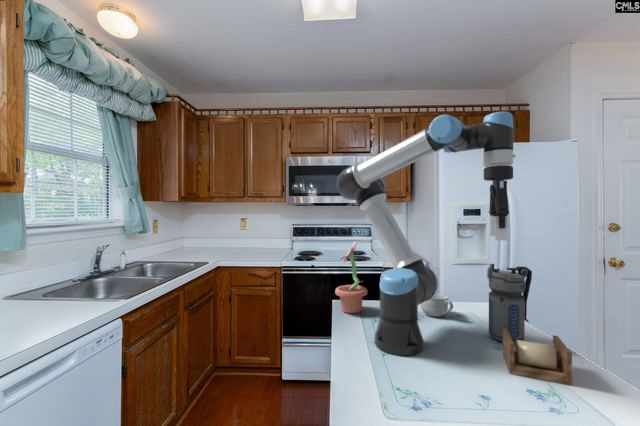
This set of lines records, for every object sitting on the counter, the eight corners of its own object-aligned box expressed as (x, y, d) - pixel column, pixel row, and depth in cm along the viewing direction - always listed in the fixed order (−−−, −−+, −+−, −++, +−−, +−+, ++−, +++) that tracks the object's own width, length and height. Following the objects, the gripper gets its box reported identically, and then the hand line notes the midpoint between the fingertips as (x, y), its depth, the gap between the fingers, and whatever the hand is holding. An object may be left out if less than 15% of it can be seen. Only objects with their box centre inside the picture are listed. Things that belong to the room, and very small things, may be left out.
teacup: (415, 311, 126) (415, 292, 126) (436, 309, 129) (436, 290, 129) (437, 323, 113) (437, 302, 113) (460, 320, 116) (460, 299, 116)
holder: (509, 373, 78) (509, 343, 78) (502, 355, 88) (503, 328, 88) (571, 385, 73) (571, 353, 73) (557, 364, 83) (557, 335, 83)
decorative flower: (337, 304, 136) (337, 238, 136) (367, 305, 134) (367, 239, 134) (333, 315, 121) (333, 242, 121) (367, 317, 119) (367, 242, 119)
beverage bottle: (539, 347, 93) (540, 267, 93) (494, 344, 95) (494, 266, 95) (522, 333, 103) (522, 262, 103) (481, 331, 105) (481, 261, 105)
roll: (517, 368, 81) (519, 351, 78) (513, 350, 86) (515, 335, 83) (555, 375, 77) (558, 358, 75) (549, 356, 82) (551, 340, 80)
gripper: (522, 158, 75) (521, 242, 75) (506, 170, 98) (505, 235, 98) (488, 161, 78) (488, 241, 78) (480, 172, 101) (479, 234, 101)
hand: (497, 238), depth 88 cm, fingers open, 13 cm apart
